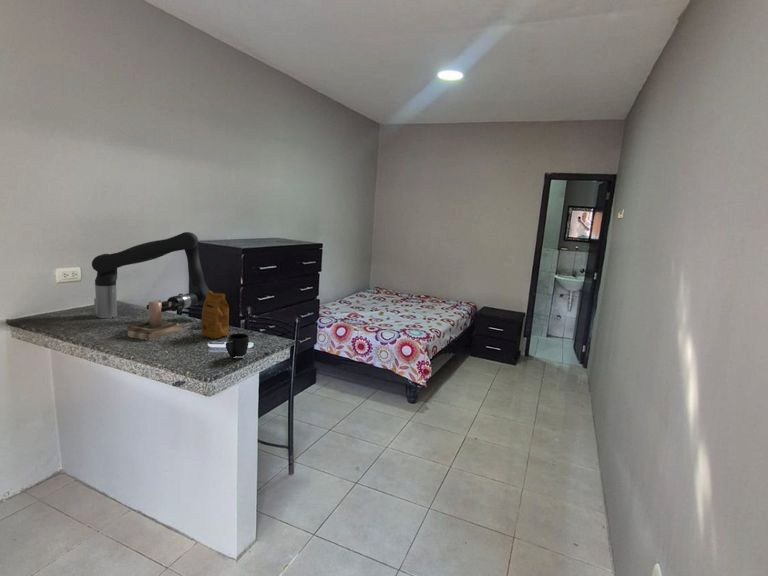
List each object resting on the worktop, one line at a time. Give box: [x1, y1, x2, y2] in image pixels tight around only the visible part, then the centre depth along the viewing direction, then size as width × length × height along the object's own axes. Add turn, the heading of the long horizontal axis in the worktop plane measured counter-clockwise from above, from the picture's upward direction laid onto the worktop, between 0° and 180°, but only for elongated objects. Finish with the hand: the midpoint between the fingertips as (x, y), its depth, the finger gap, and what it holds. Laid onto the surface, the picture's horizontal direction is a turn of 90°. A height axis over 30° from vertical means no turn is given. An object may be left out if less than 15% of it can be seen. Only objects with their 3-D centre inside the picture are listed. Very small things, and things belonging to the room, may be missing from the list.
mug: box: [225, 332, 250, 359], centre depth 177 cm, size 8×12×10 cm
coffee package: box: [200, 290, 230, 340], centre depth 204 cm, size 10×12×22 cm
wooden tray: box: [126, 320, 182, 341], centre depth 201 cm, size 12×20×5 cm, turn 165°
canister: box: [148, 300, 163, 328], centre depth 200 cm, size 6×6×12 cm
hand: (154, 308), depth 199 cm, fingers open, 8 cm apart
